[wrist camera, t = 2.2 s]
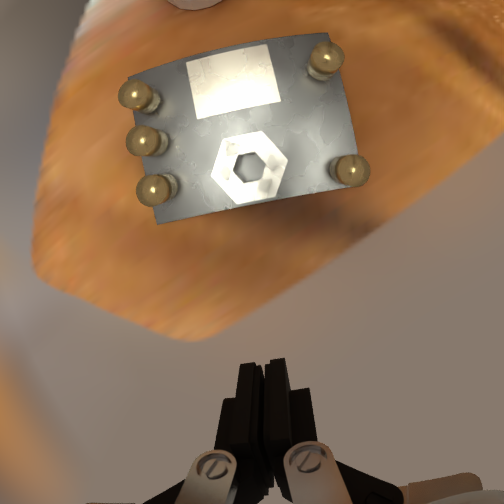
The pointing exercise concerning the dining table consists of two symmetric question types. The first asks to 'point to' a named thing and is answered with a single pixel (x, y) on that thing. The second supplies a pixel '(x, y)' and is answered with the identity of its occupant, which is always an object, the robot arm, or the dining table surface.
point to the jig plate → (242, 122)
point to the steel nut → (229, 160)
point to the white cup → (193, 4)
